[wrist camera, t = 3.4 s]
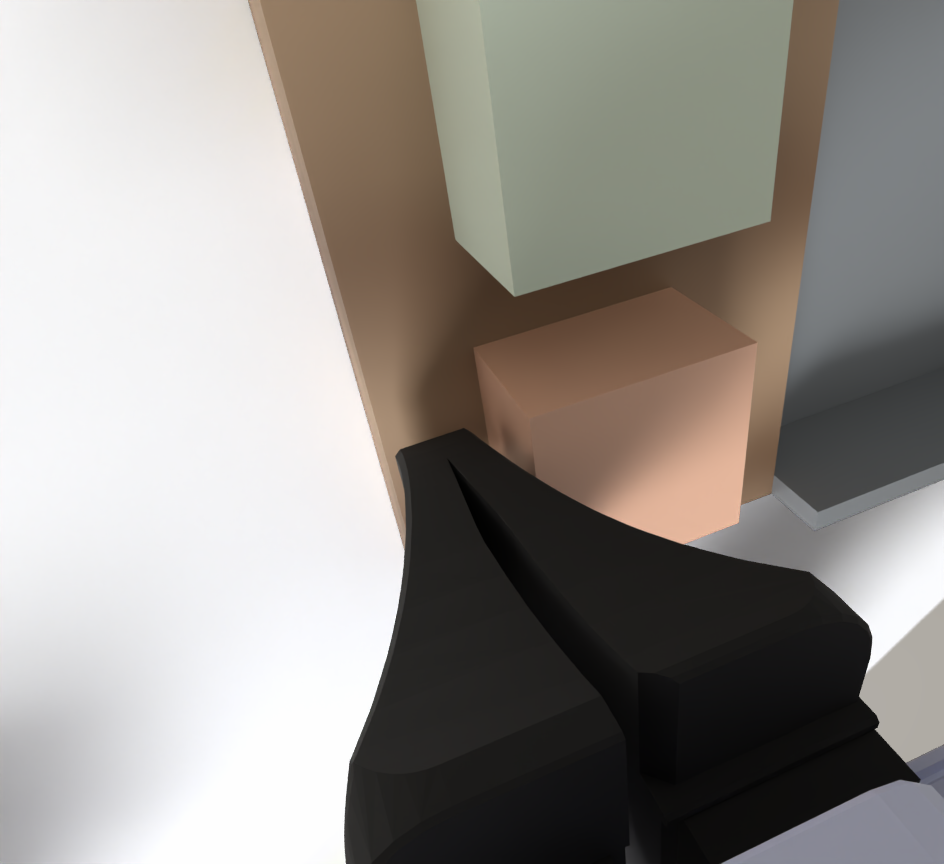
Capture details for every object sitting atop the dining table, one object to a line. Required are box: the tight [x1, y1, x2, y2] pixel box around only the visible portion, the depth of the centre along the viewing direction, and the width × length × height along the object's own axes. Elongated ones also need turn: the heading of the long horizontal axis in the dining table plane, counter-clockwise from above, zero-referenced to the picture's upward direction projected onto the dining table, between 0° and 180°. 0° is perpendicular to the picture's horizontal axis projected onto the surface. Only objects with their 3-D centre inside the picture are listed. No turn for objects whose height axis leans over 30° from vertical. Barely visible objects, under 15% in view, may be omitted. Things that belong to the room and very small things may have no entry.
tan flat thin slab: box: [248, 0, 839, 550], centre depth 13 cm, size 15×9×2 cm, turn 8°
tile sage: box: [416, 0, 794, 297], centre depth 10 cm, size 4×4×2 cm
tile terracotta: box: [473, 287, 758, 544], centre depth 13 cm, size 4×4×2 cm
